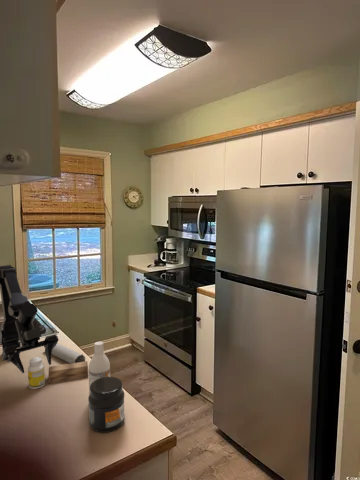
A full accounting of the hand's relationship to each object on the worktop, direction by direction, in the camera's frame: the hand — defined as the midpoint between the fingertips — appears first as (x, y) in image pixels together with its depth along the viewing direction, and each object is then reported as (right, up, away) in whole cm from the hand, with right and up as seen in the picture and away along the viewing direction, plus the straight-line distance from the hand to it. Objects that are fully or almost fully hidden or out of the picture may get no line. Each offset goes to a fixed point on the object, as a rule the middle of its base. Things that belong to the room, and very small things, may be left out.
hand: (37, 368), depth 118 cm
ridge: (+9, -6, +8) cm, 13 cm away
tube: (+1, -5, +23) cm, 24 cm away
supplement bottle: (-1, -7, +2) cm, 7 cm away
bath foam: (+24, -8, -8) cm, 27 cm away
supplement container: (+29, -9, -19) cm, 36 cm away
